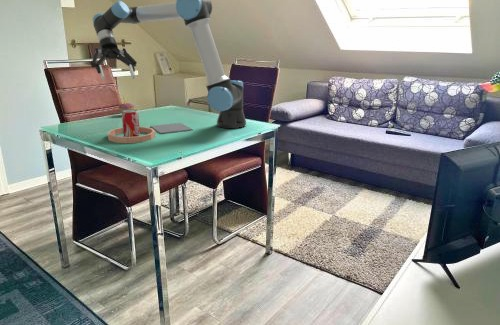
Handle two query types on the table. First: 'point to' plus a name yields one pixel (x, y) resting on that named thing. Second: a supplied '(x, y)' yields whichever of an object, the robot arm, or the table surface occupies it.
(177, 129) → the rubber mat
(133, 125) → the soda can
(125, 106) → the cupcake
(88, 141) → the table surface
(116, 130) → the orange-brown ring
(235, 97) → the robot arm
